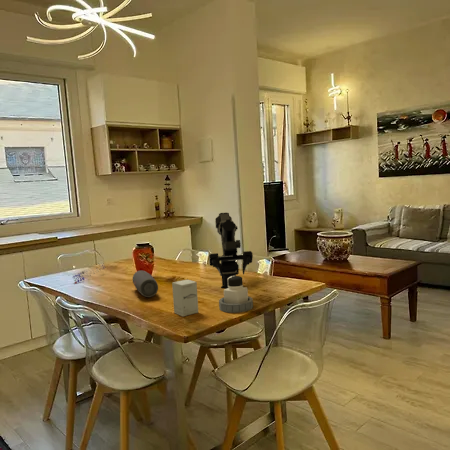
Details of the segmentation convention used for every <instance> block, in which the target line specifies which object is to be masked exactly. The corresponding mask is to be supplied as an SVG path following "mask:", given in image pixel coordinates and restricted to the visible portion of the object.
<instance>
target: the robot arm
mask: <svg viewBox="0 0 450 450" xmlns="http://www.w3.org/2000/svg"><path fill="white" fill-rule="evenodd" d="M214 223H215V229H216V230H217V231H216V232H217V233H218V234H219V236H220V239H221V250H222V255H219V253H218V252H217V253H209V255H208V261H209V266H210V267H211V266H212V267H213V268H215V269H216V270H217V271H218V273H219V276H220V277H221V286H220V288H221V289H227V288H228V278H229V277H231V276H239V274H240V272H239V268H240V267H239V264H238V262H237V261H241V260H242V275H245V271H246V268H247V266H248V265H250V264H252V263H253V258H254V257H253V255H254V254H253V252H252V251H251V250H245V251H242V254H238V249H240V248H241V247H242V246H241V239H236V238H235V237H236V232H237V230H238V226H237V225H236V223H235V222H234V221H233V218H232V217H231V216H230V213H229V212H220V213H218V216H217V217H216V218H215V221H214Z"/></svg>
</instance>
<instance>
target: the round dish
mask: <svg viewBox="0 0 450 450" xmlns="http://www.w3.org/2000/svg"><path fill="white" fill-rule="evenodd" d="M253 302H254V299H253V297H251V296H249V295H248V302H245V303H240V304H227V303H224V296H222V298H219V299H218V308H219V310H220V311H221V312H224V313H231V314H237V313H245V312H248V311H250V310H253V308H254V303H253Z"/></svg>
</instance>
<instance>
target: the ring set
mask: <svg viewBox="0 0 450 450" xmlns="http://www.w3.org/2000/svg"><path fill="white" fill-rule="evenodd" d="M103 262H104V261H101V262H98V264H97V265H100V268H102V269H105V267H106V266H105V264H104V263H103ZM85 271H86V272H88V270H85ZM85 271H81V272H80V273H78V274H75V275H72V278H75V279H73V281H74V285H77V283H80V282H82V281H85V276H87V275H88V276H92V275H91V274H95V271H89V272H90V273H89V274H88V273H86V272H85ZM96 272H97V273H98V272H99V269H96ZM82 274H83V275H82ZM105 276H106V275H105Z"/></svg>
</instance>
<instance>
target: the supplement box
mask: <svg viewBox="0 0 450 450" xmlns="http://www.w3.org/2000/svg"><path fill="white" fill-rule="evenodd" d="M171 284H172V285H171V286H172V287H171V288H172V299H173V300H172V303H173V313H175V314H176V315H179V316H180V317H186V316H190V315H193V314H198V313H199V300H198V298H199V297H198V284H197V281H196V280H195V281H194V280H191V279H183V280H182V279H181V280H178V281H173V282H171Z"/></svg>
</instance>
